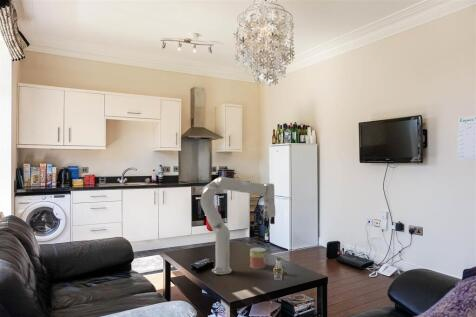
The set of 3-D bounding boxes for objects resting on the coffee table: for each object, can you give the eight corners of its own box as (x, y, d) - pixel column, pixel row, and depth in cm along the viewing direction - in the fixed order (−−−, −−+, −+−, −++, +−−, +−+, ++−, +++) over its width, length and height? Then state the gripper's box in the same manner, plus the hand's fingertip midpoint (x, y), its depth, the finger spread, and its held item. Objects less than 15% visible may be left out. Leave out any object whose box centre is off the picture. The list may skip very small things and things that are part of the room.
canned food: (264, 269, 226) (264, 251, 226) (248, 268, 228) (248, 251, 228) (266, 264, 237) (266, 247, 237) (251, 263, 239) (251, 247, 239)
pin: (279, 274, 214) (279, 259, 214) (274, 273, 216) (274, 258, 217) (281, 272, 218) (281, 258, 218) (276, 271, 220) (276, 257, 220)
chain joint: (283, 280, 203) (283, 276, 203) (272, 280, 204) (272, 276, 204) (283, 267, 230) (282, 263, 230) (273, 266, 231) (273, 263, 231)
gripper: (268, 202, 220) (268, 227, 220) (279, 200, 234) (279, 223, 234) (258, 201, 224) (258, 226, 224) (269, 199, 238) (270, 222, 238)
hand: (269, 225), depth 229 cm, fingers open, 9 cm apart
